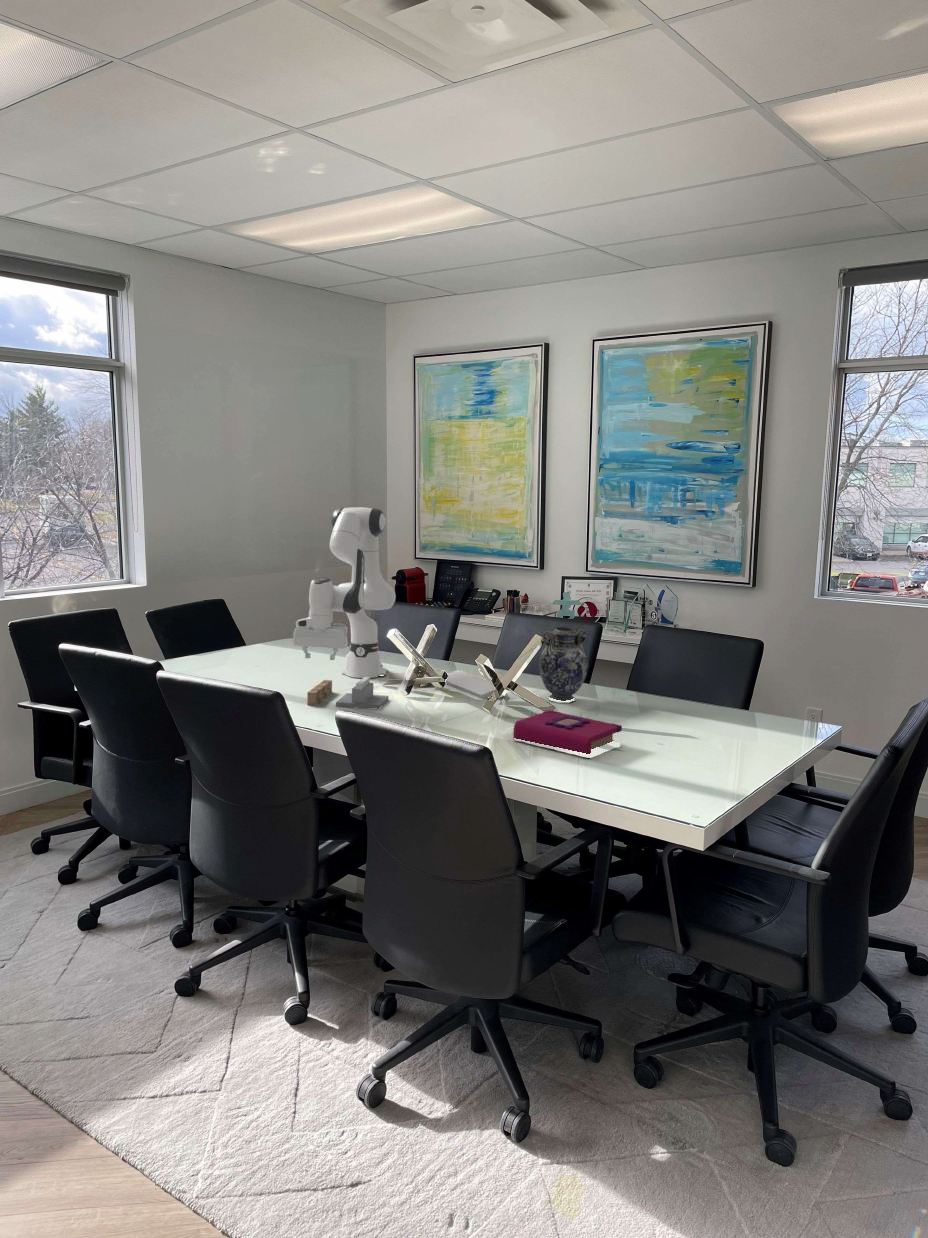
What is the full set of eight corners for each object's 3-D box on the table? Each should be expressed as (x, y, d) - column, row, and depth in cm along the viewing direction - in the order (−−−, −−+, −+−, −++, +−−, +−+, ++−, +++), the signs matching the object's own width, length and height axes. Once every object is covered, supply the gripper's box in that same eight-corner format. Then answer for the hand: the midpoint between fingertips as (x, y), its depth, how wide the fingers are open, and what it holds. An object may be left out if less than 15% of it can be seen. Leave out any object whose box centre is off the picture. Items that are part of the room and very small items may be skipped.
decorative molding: (484, 706, 343) (505, 697, 348) (481, 695, 342) (502, 686, 346) (440, 688, 372) (460, 680, 377) (438, 677, 371) (458, 669, 375)
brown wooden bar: (324, 692, 346) (324, 679, 345) (331, 693, 345) (332, 680, 345) (307, 705, 324) (307, 692, 323) (315, 706, 324) (315, 692, 323)
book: (588, 761, 269) (589, 737, 268) (512, 742, 286) (513, 719, 285) (622, 747, 285) (623, 724, 284) (548, 730, 303) (549, 708, 301)
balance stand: (347, 697, 338) (347, 675, 337) (388, 699, 336) (388, 677, 335) (335, 706, 324) (336, 683, 322) (379, 709, 321) (379, 686, 320)
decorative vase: (567, 692, 359) (571, 623, 354) (598, 702, 343) (602, 630, 339) (524, 697, 347) (528, 626, 342) (554, 709, 332) (558, 634, 327)
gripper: (350, 622, 332) (349, 659, 334) (297, 619, 335) (296, 655, 337) (345, 624, 326) (344, 662, 328) (291, 621, 329) (291, 658, 330)
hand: (320, 659), depth 332 cm, fingers open, 8 cm apart
